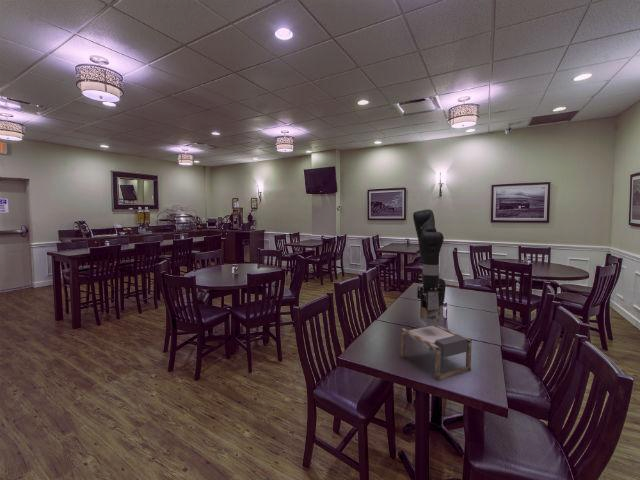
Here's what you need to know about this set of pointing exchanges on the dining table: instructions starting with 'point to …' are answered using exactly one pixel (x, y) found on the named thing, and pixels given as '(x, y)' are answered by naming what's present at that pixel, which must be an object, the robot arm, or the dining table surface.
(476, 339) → the dining table surface
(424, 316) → the coffee box
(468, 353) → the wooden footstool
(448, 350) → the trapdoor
